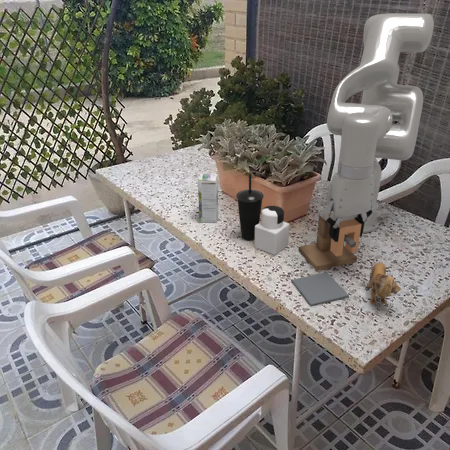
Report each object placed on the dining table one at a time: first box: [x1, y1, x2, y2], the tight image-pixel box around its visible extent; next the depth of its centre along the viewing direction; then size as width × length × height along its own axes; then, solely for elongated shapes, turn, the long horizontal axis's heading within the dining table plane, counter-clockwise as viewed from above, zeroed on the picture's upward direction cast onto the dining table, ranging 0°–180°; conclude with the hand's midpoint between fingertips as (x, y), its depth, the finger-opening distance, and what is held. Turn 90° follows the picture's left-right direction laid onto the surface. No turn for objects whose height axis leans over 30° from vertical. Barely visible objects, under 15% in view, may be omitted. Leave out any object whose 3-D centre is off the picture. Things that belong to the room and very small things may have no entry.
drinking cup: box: [235, 173, 264, 242], centre depth 120 cm, size 8×8×20 cm
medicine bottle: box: [254, 205, 291, 256], centre depth 117 cm, size 7×7×12 cm
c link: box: [330, 219, 362, 256], centre depth 105 cm, size 6×3×8 cm, turn 108°
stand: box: [298, 211, 358, 272], centre depth 110 cm, size 12×16×12 cm
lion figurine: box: [366, 262, 402, 305], centre depth 98 cm, size 15×5×9 cm, turn 176°
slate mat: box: [291, 271, 350, 307], centre depth 102 cm, size 10×10×1 cm
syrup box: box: [197, 172, 219, 224], centre depth 131 cm, size 6×6×14 cm
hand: (345, 235), depth 104 cm, fingers closed on c link, 6 cm apart
